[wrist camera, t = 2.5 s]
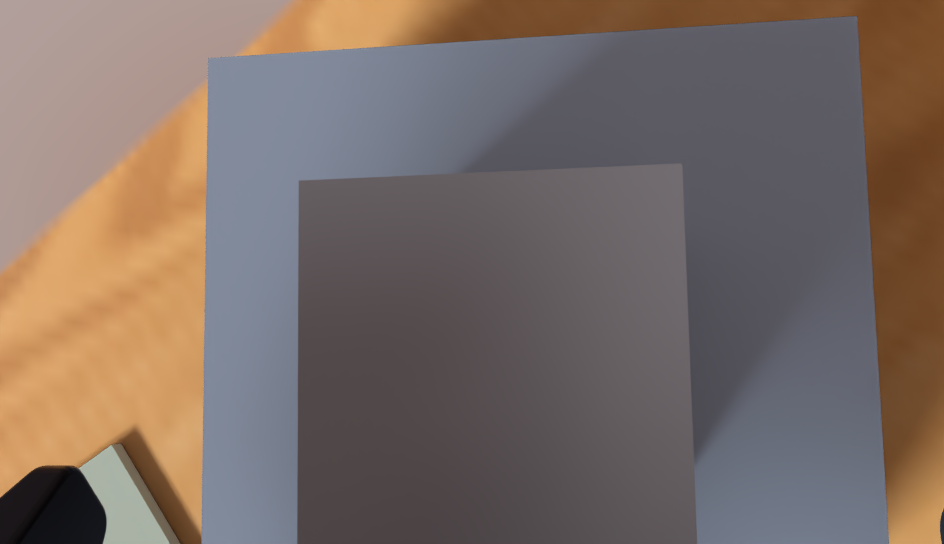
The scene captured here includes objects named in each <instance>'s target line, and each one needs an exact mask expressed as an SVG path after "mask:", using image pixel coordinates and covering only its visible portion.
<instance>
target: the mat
mask: <svg viewBox="0 0 944 544" xmlns="http://www.w3.org/2000/svg"><path fill="white" fill-rule="evenodd" d="M78 469H80V470H81V472H82V473H83V474H84V476H85V478H86V479H87V481H88V482H89V484H90V486H91V487H92V489H93V491H94V492H95V494H96V495H97V497H98V499H99V500H100V502H101V504H102V505H103V507H104V509H105V513H106V518H107V527H106V534H105V538H104V542H103V544H180V542H179V540H178V539H177V537H176V535H175V534H174V532H173V530H172V529H171V527H170V525H169V523H168V522H167V520H166V518H165V517H164V515H163V513H162V512H161V510H160V508H159V507H158V505H157V503H156V502H155V500H154V498H153V496H152V495H151V493H150V491H149V490H148V488H147V486H146V485H145V483H144V481H143V480H142V478H141V476H140V475H139V473H138V471H137V470H136V468H135V466H134V464H133V463H132V461H131V459H130V458H129V456H128V454H127V453H126V451H125V449H124V448H123V446H122V444H121V443H120V444H114V445H111V446H109V447H108V448H106V449H105V450H104V451H102V452H101V453H99V454H98V455H97V456H95V457H94V458H92V459H91V460H90V461H88V462H87V463H85V464H84V465H83V466H81V467H80V468H78Z"/></svg>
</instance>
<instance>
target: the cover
mask: <svg viewBox="0 0 944 544" xmlns="http://www.w3.org/2000/svg"><path fill="white" fill-rule="evenodd" d="M202 544H889V535H888V518H887V502H886V485H885V468H884V452H883V435H882V419H881V402H880V385H879V369H878V352H877V336H876V319H875V302H874V286H873V269H872V252H871V236H870V219H869V203H868V186H867V169H866V153H865V136H864V120H863V103H862V86H861V70H860V53H859V36H858V20H857V16H849V17H834V18H818V19H803V20H788V21H772V22H757V23H742V24H726V25H711V26H696V27H680V28H665V29H650V30H634V31H619V32H604V33H588V34H573V35H558V36H542V37H527V38H512V39H496V40H481V41H466V42H450V43H435V44H420V45H404V46H389V47H374V48H358V49H343V50H328V51H312V52H297V53H282V54H266V55H251V56H236V57H220V58H209V59H208V126H207V195H206V265H205V335H204V405H203V474H202Z"/></svg>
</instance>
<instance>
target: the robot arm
mask: <svg viewBox="0 0 944 544" xmlns="http://www.w3.org/2000/svg"><path fill="white" fill-rule="evenodd" d="M106 527H107V518H106V513H105V509H104V507H103V505H102V504H101V502H100V500H99V499H98V497H97V495H96V494H95V492H94V491H93V489H92V487H91V486H90V484H89V482H88V481H87V479H86V478H85V476H84V474H83V473H82V472H81V470H80V469H78V468H76V467H75V466H41V467H38V468H36V469H34V470H33V471H31V472H30V473H29V474H27V475H26V476H25V477H24V478H23V479H22V480H20V481H19V482H18V483H17V484H16V485H14V486H13V487H12V488H11V489H10V490H9V491H7V492H6V493H5V494H4V495H3V496H2V497H0V544H103V542H104V538H105V534H106ZM940 533H941V541H942V544H944V510H943V512H942V516H941V521H940Z"/></svg>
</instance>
